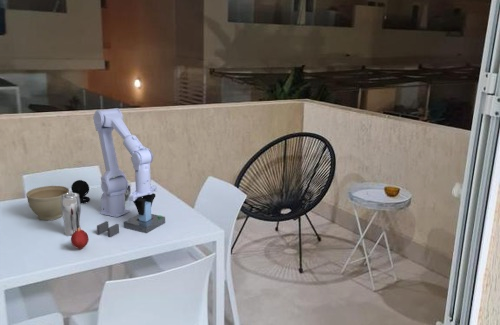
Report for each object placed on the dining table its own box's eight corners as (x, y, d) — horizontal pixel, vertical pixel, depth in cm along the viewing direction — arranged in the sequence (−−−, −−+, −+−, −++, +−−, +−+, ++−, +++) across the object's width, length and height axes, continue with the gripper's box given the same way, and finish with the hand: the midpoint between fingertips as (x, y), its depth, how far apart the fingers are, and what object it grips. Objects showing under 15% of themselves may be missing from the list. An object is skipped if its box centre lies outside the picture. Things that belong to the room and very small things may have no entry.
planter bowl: (19, 220, 191) (16, 194, 188) (50, 207, 205) (47, 183, 203) (50, 226, 185) (48, 200, 182) (79, 213, 200) (77, 188, 197)
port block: (123, 227, 185) (123, 220, 184) (143, 218, 195) (143, 210, 195) (146, 233, 180) (146, 225, 179) (165, 222, 191) (165, 215, 190)
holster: (97, 234, 179) (96, 225, 178) (106, 229, 183) (106, 221, 182) (110, 237, 176) (109, 228, 175) (119, 232, 180) (118, 224, 179)
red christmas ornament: (74, 245, 169) (72, 224, 167) (91, 245, 169) (89, 224, 167) (69, 252, 163) (67, 231, 161) (86, 252, 163) (85, 231, 161)
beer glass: (86, 230, 181) (83, 193, 178) (74, 237, 175) (71, 199, 171) (71, 228, 184) (68, 191, 180) (59, 235, 177) (55, 197, 173)
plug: (138, 220, 186) (138, 203, 185) (144, 217, 189) (143, 200, 188) (145, 221, 185) (145, 205, 183) (151, 219, 188) (150, 202, 186)
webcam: (92, 198, 218) (90, 177, 215) (87, 204, 210) (86, 182, 208) (75, 198, 217) (73, 177, 215) (70, 204, 210) (68, 182, 208)
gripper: (139, 186, 175) (140, 220, 178) (162, 176, 188) (163, 209, 191) (124, 183, 178) (126, 217, 181) (148, 174, 191) (149, 206, 194)
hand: (144, 213), depth 186 cm, fingers closed on plug, 3 cm apart
